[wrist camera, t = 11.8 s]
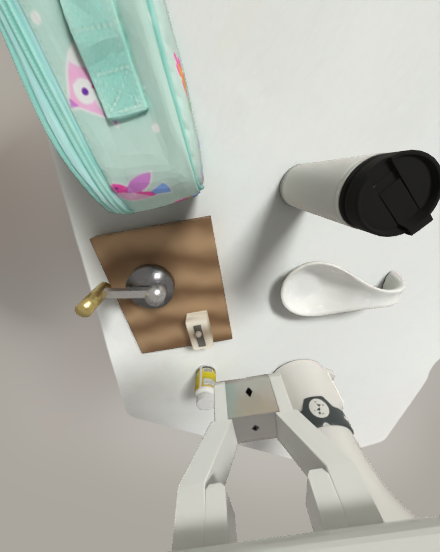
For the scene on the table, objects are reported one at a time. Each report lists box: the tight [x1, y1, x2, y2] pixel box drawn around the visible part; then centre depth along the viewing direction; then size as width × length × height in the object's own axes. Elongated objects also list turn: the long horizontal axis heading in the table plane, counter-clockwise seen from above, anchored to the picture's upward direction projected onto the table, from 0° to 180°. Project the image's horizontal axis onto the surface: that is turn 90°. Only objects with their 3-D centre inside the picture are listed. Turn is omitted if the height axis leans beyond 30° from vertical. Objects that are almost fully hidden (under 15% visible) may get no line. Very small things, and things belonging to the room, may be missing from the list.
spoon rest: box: [280, 261, 406, 316], centre depth 38 cm, size 24×12×7 cm, turn 91°
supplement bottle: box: [195, 365, 216, 410], centre depth 47 cm, size 5×5×8 cm
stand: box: [90, 216, 232, 353], centre depth 37 cm, size 26×20×6 cm
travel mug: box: [280, 150, 440, 237], centre depth 24 cm, size 6×7×20 cm
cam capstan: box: [75, 264, 175, 317], centre depth 33 cm, size 13×8×8 cm, turn 90°
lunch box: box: [0, 0, 204, 214], centre depth 17 cm, size 27×10×21 cm, turn 15°
